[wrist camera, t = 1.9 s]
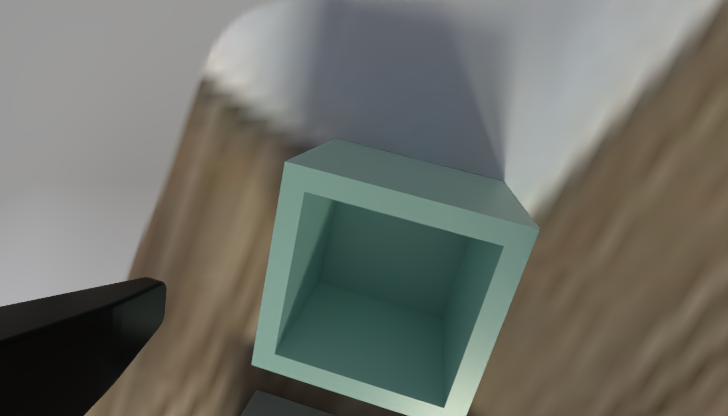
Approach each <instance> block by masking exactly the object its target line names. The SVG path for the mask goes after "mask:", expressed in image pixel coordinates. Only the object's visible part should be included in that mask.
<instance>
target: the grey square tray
mask: <svg viewBox="0 0 728 416" xmlns="http://www.w3.org/2000/svg"><path fill="white" fill-rule="evenodd" d="M240 416H336V415H333V414H330V413H326V412H323V411H320V410H317V409H314V408H311V407H308V406H305V405H302V404H299V403H296V402H293V401H290V400H287V399H284V398H281V397H278V396H275V395H272V394H269V393H265V392H262V391H259V390H256V391H255V393H254V394H253V396H252V397H251V399H250V401H249V402H248V404H247V406H246V407H245V409H244V410H243V412H242V414H241V415H240Z"/></svg>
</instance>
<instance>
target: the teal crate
mask: <svg viewBox="0 0 728 416" xmlns="http://www.w3.org/2000/svg"><path fill="white" fill-rule="evenodd" d="M539 231H540V229H539V227H538V226H537V225H536V223H535V222H534V221H533V219H532V218H531V217H530V215H529V214H528V213H527V211H526V210H525V209H524V207H523V206H522V205H521V203H520V202H519V201H518V199H517V198H516V197H515V195H514V194H513V193H512V191H511V190H510V188H509V187H508V186H507V184H506V183H505V182H503V181H499V180H495V179H491V178H487V177H484V176H480V175H476V174H472V173H468V172H464V171H460V170H456V169H452V168H449V167H445V166H441V165H437V164H433V163H429V162H425V161H421V160H418V159H414V158H410V157H406V156H402V155H398V154H394V153H390V152H387V151H383V150H379V149H375V148H371V147H367V146H363V145H359V144H355V143H352V142H348V141H344V140H340V139H336V138H334V139H332V140H330V141H328V142H326V143H324V144H321V145H319V146H317V147H315V148H313V149H311V150H308V151H306V152H304V153H302V154H300V155H297V156H295V157H293V158H291V159H289V160H287V161H285V163H284V169H283V175H282V181H281V187H280V194H279V200H278V206H277V212H276V218H275V224H274V230H273V236H272V242H271V248H270V254H269V260H268V266H267V272H266V278H265V285H264V291H263V297H262V303H261V309H260V315H259V321H258V327H257V333H256V339H255V345H254V351H253V357H252V363H251V365H253V366H256V367H259V368H262V369H265V370H268V371H272V372H275V373H278V374H281V375H284V376H287V377H290V378H293V379H296V380H299V381H302V382H305V383H309V384H312V385H315V386H318V387H321V388H324V389H327V390H330V391H333V392H336V393H339V394H343V395H346V396H349V397H352V398H355V399H358V400H361V401H364V402H367V403H370V404H373V405H376V406H380V407H383V408H386V409H389V410H392V411H395V412H398V413H401V414H404V415H407V416H466V415H467V413H468V410H469V408H470V405H471V403H472V400H473V398H474V395H475V393H476V390H477V388H478V385H479V382H480V380H481V377H482V375H483V372H484V370H485V367H486V365H487V362H488V360H489V357H490V355H491V352H492V350H493V347H494V345H495V342H496V339H497V337H498V334H499V332H500V329H501V327H502V324H503V322H504V319H505V317H506V314H507V312H508V309H509V307H510V304H511V302H512V299H513V296H514V294H515V291H516V289H517V286H518V284H519V281H520V279H521V276H522V274H523V271H524V269H525V266H526V264H527V261H528V259H529V256H530V253H531V251H532V248H533V246H534V243H535V241H536V238H537V236H538V233H539Z"/></svg>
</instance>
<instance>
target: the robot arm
mask: <svg viewBox="0 0 728 416" xmlns="http://www.w3.org/2000/svg"><path fill="white" fill-rule="evenodd" d="M165 302H166V285H165V283H164V282H162V281H159V280H155V279H152V278H149V277H144V278H139V279H134V280H129V281H124V282H119V283H114V284H109V285H105V286H100V287H95V288H90V289H85V290H80V291H75V292H70V293H65V294H61V295H56V296H51V297H46V298H41V299H36V300H31V301H27V302H21V303H17V304H12V305H6V306H2V307H0V416H84V415H85V414H86V413H87V412H88V411H89V410H90V408H91V407H92V406H93V405H94V404H95V403H96V402H97V401H98V400H99V399H100V398H101V397H102V396H103V395H104V394H105V393H106V392H107V391H108V390H109V388H110V387H111V386H112V385H113V384H114V383H115V382H116V380H117V379H118V378H119V377H120V376H121V374H122V373H123V372H124V371H125V369H126V368H127V367H128V366H129V364H130V363H131V362H132V361H133V359H134V358H135V357H136V356H137V354H138V353H139V352H140V351H141V349H142V348H143V347H144V346H145V344H146V343H147V342H148V341H149V339H150V338H151V337H152V336H153V334H154V333H155V332H156V331H157V329H158V328H159V327H160V325H161V323H162V321H163V319H164V314H165Z"/></svg>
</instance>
